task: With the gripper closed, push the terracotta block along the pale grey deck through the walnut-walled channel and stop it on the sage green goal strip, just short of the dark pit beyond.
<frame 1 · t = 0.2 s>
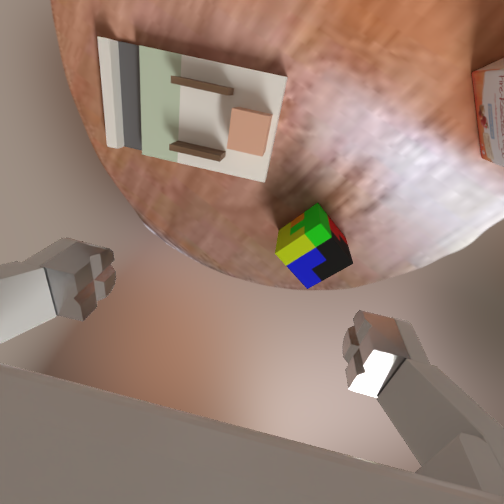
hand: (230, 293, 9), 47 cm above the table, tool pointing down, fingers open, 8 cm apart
puzzle toy: (311, 233, 59), on the table
cracker box: (494, 110, 44), on the table
block: (251, 129, 47), point 3 cm above the table, touching deck
deck: (193, 113, 50), on the table
channel walls: (200, 120, 46), on the deck, point 5 cm above the table
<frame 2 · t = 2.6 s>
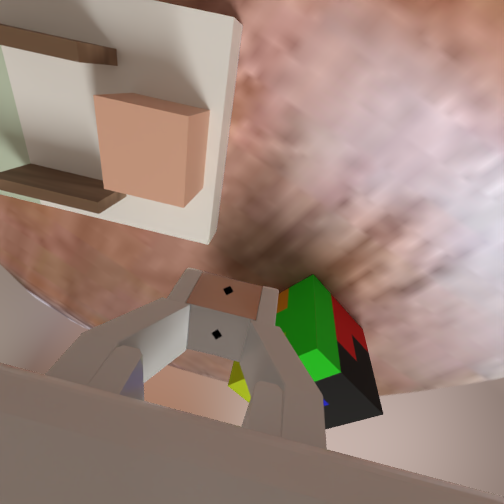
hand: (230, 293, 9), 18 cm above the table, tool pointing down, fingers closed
puzzle toy: (303, 319, 34), on the table
block: (170, 143, 22), point 3 cm above the table, touching deck
deck: (61, 109, 25), on the table
channel walls: (49, 123, 21), on the deck, point 5 cm above the table
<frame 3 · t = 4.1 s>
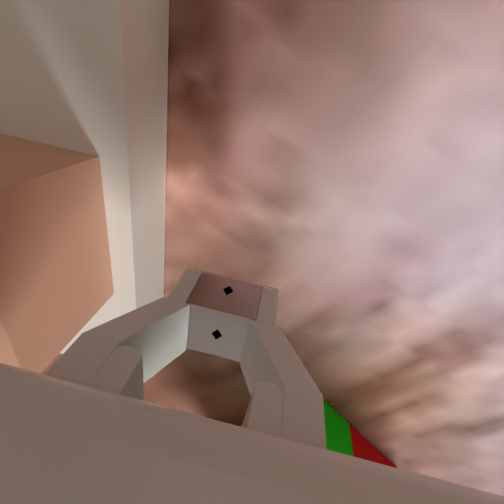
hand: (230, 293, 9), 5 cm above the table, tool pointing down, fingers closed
puzzle toy: (305, 445, 22), on the table
block: (34, 217, 11), point 3 cm above the table, touching deck
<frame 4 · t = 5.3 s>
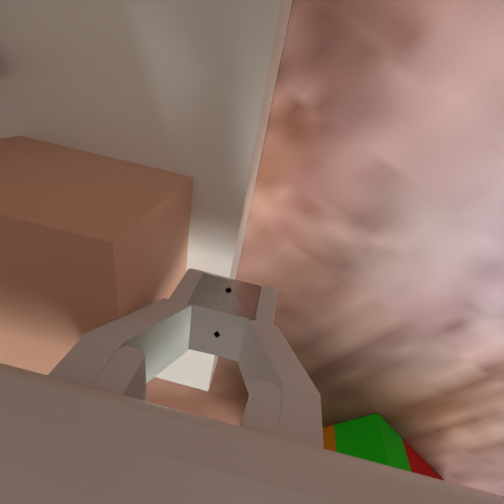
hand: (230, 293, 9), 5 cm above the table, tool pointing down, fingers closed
puzzle toy: (350, 458, 22), on the table
block: (112, 234, 11), point 3 cm above the table, touching deck, gripper
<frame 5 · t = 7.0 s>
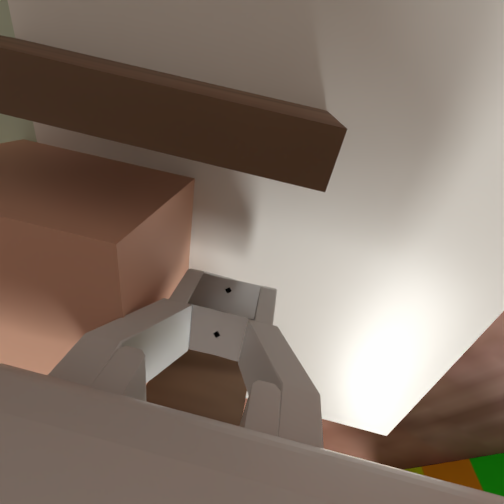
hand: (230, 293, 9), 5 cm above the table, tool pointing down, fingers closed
puzzle toy: (470, 488, 22), on the table
block: (115, 236, 11), point 3 cm above the table, touching gripper
deck: (130, 197, 13), on the table
channel walls: (136, 271, 9), on the deck, point 5 cm above the table
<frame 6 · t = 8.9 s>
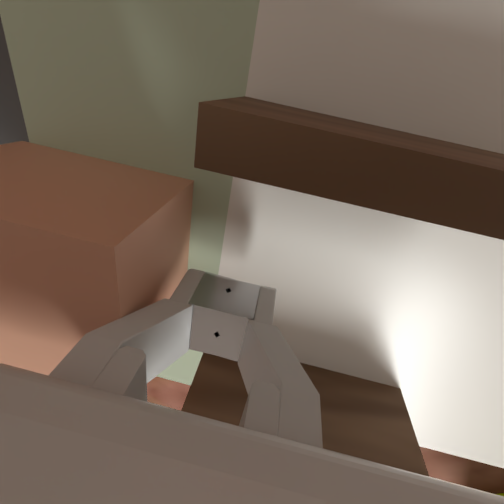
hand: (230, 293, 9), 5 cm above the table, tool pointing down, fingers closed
block: (114, 237, 11), point 3 cm above the table, touching deck, gripper
deck: (267, 233, 13), on the table
channel walls: (343, 327, 9), on the deck, point 5 cm above the table
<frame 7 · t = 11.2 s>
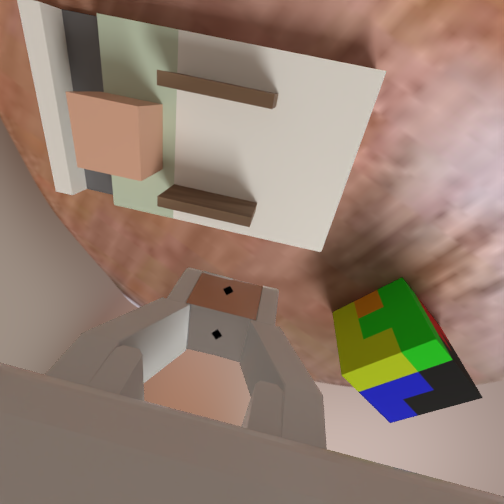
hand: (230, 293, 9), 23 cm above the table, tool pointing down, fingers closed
puzzle toy: (384, 318, 38), on the table
block: (133, 132, 27), point 3 cm above the table, touching deck
deck: (199, 138, 29), on the table
channel walls: (214, 153, 25), on the deck, point 5 cm above the table
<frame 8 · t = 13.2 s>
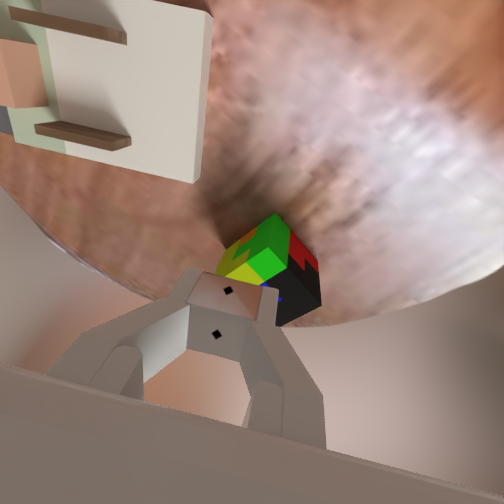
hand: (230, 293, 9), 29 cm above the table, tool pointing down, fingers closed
puzzle toy: (271, 254, 42), on the table
block: (18, 71, 32), point 3 cm above the table, touching deck
deck: (84, 81, 34), on the table
channel walls: (79, 85, 29), on the deck, point 5 cm above the table
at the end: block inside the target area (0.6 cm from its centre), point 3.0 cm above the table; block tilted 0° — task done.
